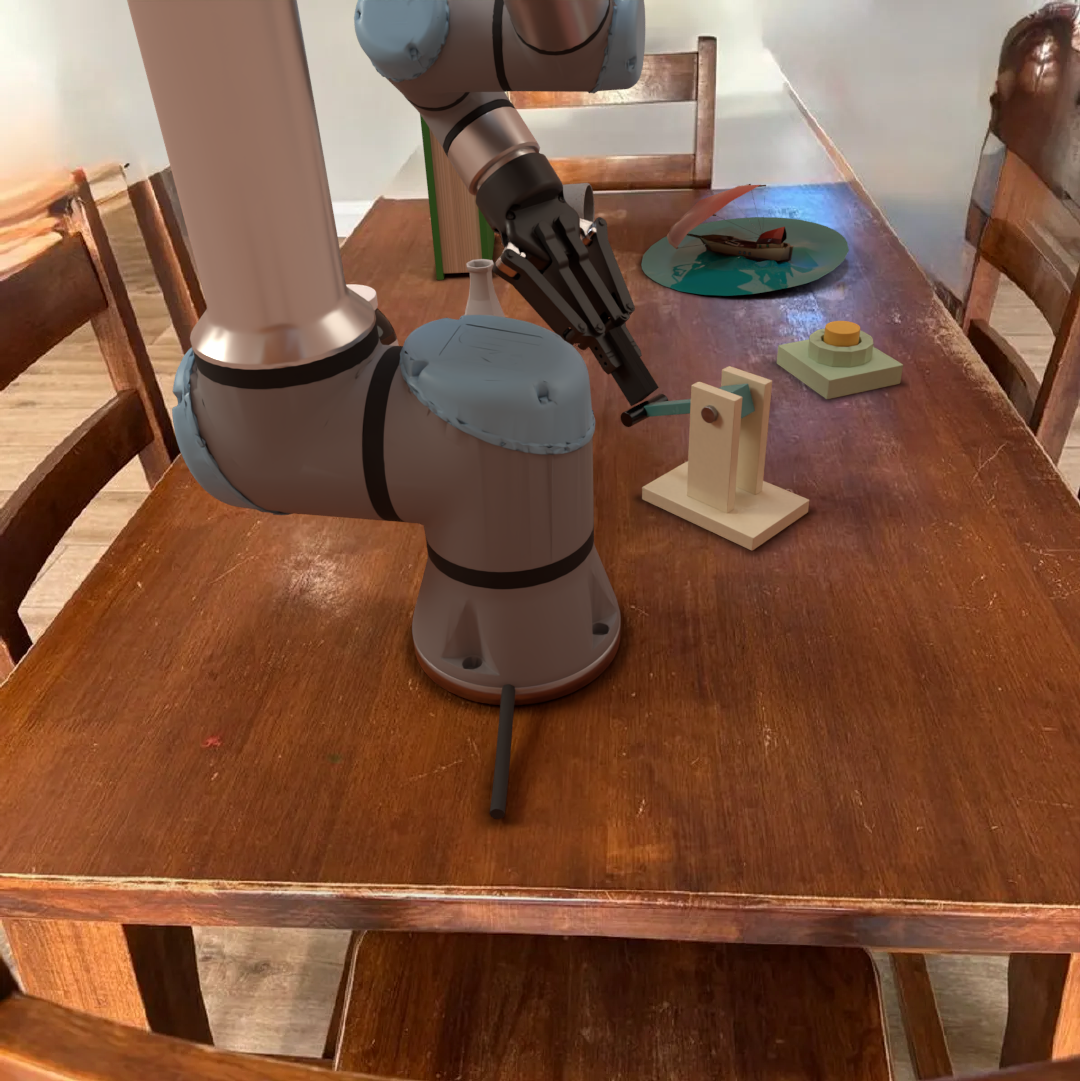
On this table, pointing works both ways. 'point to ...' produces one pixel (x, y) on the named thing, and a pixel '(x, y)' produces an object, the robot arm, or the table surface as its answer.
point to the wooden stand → (728, 467)
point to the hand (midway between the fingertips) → (644, 396)
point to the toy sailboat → (741, 251)
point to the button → (842, 334)
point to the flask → (482, 290)
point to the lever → (680, 406)
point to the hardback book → (452, 213)
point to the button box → (839, 365)
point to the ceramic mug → (580, 199)
